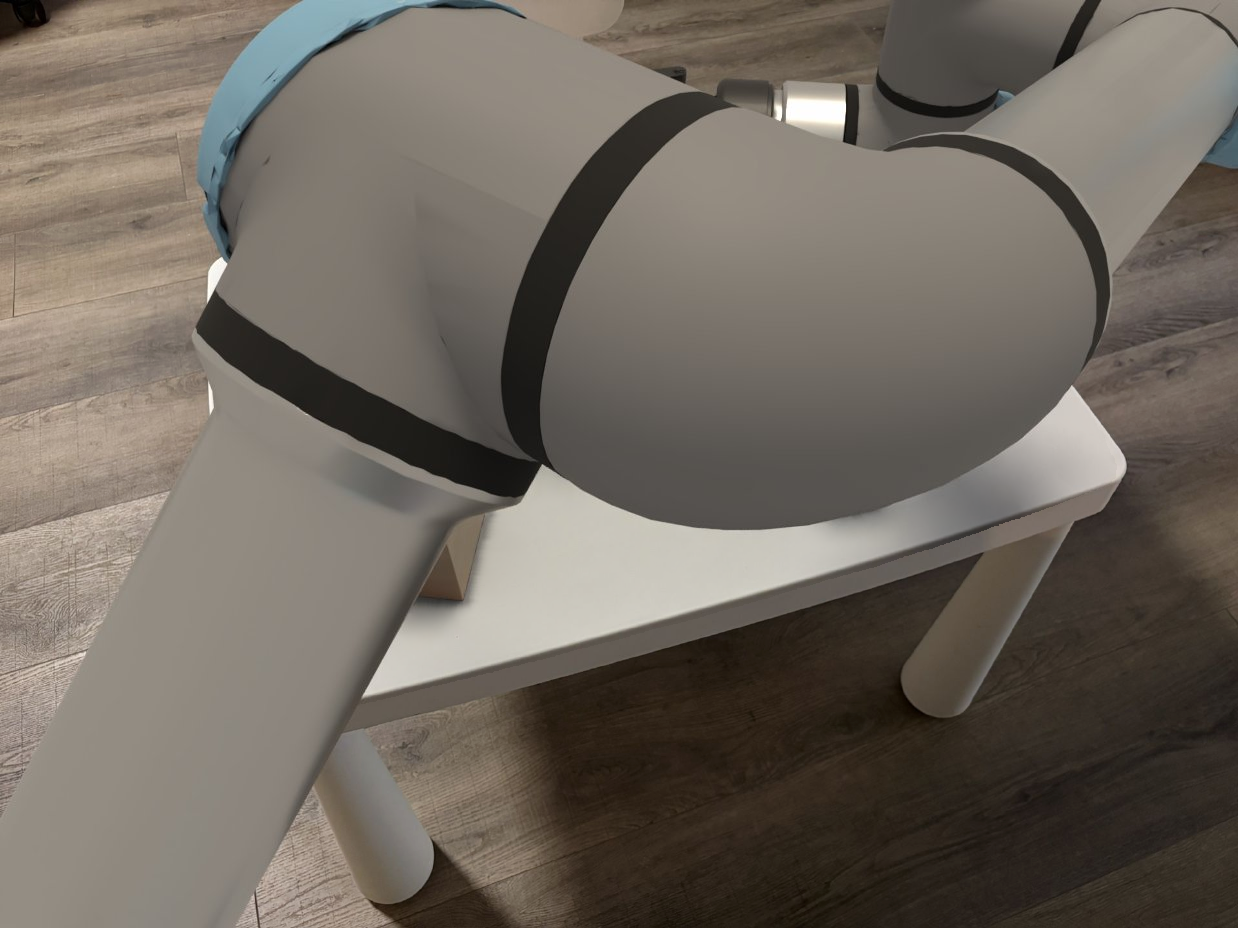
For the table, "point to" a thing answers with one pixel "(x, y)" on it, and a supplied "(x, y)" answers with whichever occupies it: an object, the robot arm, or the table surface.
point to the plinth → (454, 562)
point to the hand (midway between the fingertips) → (434, 123)
